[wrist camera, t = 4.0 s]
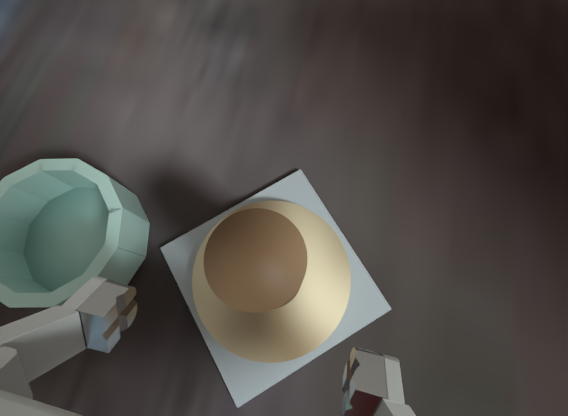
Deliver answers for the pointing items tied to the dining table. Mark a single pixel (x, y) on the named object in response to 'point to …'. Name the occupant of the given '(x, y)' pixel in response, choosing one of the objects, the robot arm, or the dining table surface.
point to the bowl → (65, 232)
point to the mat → (260, 376)
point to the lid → (271, 281)
